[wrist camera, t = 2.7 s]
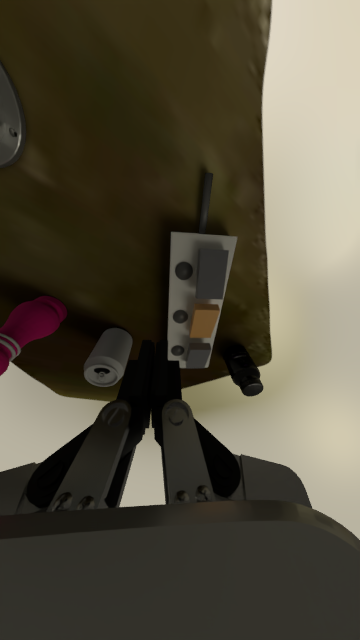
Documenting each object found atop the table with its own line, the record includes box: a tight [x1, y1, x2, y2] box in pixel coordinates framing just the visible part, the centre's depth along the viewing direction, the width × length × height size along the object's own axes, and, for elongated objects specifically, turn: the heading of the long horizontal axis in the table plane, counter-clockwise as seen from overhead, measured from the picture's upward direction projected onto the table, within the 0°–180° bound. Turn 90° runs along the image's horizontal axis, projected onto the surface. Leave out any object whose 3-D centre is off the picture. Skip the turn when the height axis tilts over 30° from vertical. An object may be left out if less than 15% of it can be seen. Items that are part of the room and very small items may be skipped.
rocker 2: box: [189, 304, 220, 338], centre depth 32 cm, size 8×5×2 cm, turn 176°
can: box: [84, 328, 133, 387], centre depth 34 cm, size 8×8×12 cm
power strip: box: [167, 173, 237, 368], centre depth 33 cm, size 39×11×5 cm, turn 176°
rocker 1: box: [195, 248, 229, 300], centre depth 27 cm, size 8×5×2 cm, turn 176°
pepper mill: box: [0, 296, 67, 376], centre depth 26 cm, size 7×7×20 cm
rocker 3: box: [186, 343, 211, 368], centre depth 37 cm, size 8×5×2 cm, turn 176°
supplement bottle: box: [223, 345, 263, 396], centre depth 40 cm, size 7×7×12 cm
